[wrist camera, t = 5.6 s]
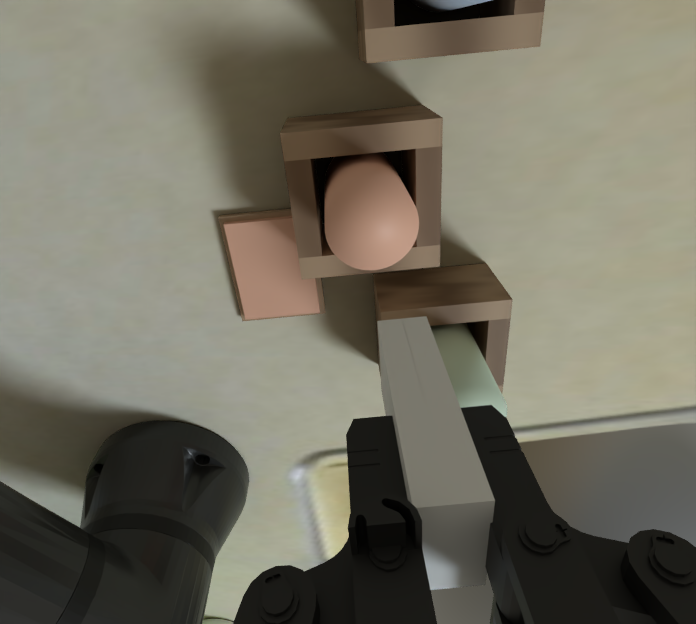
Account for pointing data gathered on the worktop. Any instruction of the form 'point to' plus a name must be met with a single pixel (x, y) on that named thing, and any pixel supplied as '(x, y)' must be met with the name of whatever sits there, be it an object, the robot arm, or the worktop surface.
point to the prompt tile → (268, 266)
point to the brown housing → (361, 138)
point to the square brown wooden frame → (451, 305)
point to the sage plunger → (467, 368)
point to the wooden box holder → (447, 31)
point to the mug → (216, 621)
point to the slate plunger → (445, 4)
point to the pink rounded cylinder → (368, 212)
